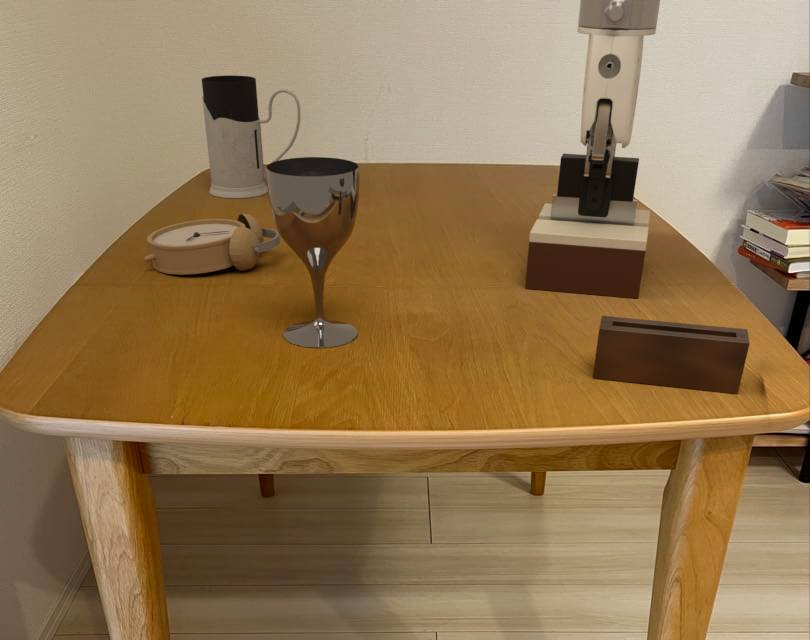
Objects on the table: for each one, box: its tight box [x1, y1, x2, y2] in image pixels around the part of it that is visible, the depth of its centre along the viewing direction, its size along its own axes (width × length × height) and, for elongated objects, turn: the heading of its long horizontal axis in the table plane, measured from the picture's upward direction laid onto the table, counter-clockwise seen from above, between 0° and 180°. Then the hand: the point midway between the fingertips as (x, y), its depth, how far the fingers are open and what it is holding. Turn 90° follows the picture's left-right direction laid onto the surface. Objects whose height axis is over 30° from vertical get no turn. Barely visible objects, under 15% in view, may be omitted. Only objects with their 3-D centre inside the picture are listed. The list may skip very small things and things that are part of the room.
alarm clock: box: [143, 213, 281, 276], centre depth 101 cm, size 11×5×15 cm
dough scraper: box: [551, 153, 640, 226], centre depth 96 cm, size 9×2×12 cm, turn 75°
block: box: [592, 315, 751, 395], centre depth 75 cm, size 12×3×4 cm, turn 75°
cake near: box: [524, 218, 649, 300], centre depth 95 cm, size 12×6×6 cm, turn 75°
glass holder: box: [201, 75, 301, 199], centre depth 127 cm, size 9×14×15 cm, turn 88°
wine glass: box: [266, 156, 360, 349], centre depth 80 cm, size 8×8×15 cm
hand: (593, 211), depth 95 cm, fingers closed on dough scraper, 2 cm apart
